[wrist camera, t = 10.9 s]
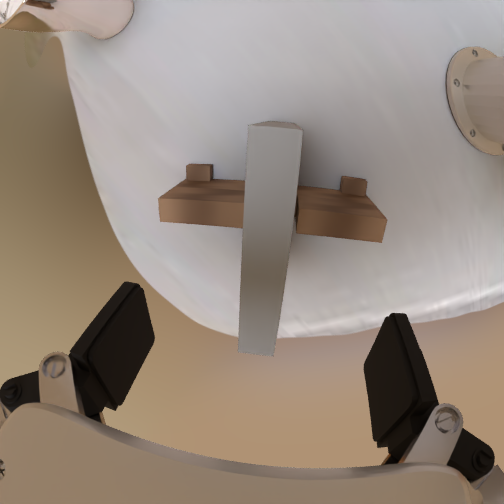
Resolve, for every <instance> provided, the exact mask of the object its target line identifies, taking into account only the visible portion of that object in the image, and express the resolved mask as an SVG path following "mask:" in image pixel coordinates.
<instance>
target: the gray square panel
mask: <svg viewBox="0 0 504 504" xmlns="http://www.w3.org/2000/svg"><path fill="white" fill-rule="evenodd" d="M302 137H303V129H301V128H300V127H299V126H297V125H296V124H295V123H286V122H275V121H267V122H261V123H257V124H252V125H248V139H247V157H246V176H245V196H244V217H243V239H242V261H241V285H240V311H239V339H238V352H241V353H249V354H256V355H265V356H274V350H275V344H276V338H277V332H278V326H279V320H280V313H281V307H282V301H283V294H284V287H285V280H286V273H287V266H288V259H289V252H290V244H291V237H292V229H293V221H294V213H295V204H296V196H297V187H298V178H299V168H300V158H301V148H302Z"/></svg>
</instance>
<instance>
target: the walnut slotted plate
mask: <svg viewBox="0 0 504 504" xmlns="http://www.w3.org/2000/svg"><path fill="white" fill-rule="evenodd" d="M366 188H367V181H366V180H365V179H360V178H354V177H347V176H342V177H341V185H340V190H333V189H325V188H317V187H308V186H299V185H298V187H297V196H296V204H295V213H294V217H295V219H296V233H298V234H308V235H318V236H327V237H336V238H345V239H354V240H362V241H371V242H379V243H382V239H383V235H384V231H385V227H386V223H387V219H386V217H385V216H384V215H383V214H382V213H381V211H380V210H379V209H378V208H377V207H376V206H375V205H374V203H373V202H372V201H371V200H370V199H369V198H368V197H367V195H366V194H365V193H366ZM244 196H245V181H239V180H222V179H213V164H189V165H187V166H186V179H185V180H184V181H182V182H181V183H179V184H178V185H176V186H175V187H173V188H172V189H171V190H169V191H168V192H166V193H165V194H164V195H162V196H161V197H159V198H158V203H159V215H160V222H173V223H186V224H199V225H212V226H223V227H235V228H243V217H244Z"/></svg>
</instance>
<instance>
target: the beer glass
mask: <svg viewBox="0 0 504 504" xmlns="http://www.w3.org/2000/svg"><path fill="white" fill-rule="evenodd" d="M133 9H134V5H133V2H132V0H0V28H5V29H11V30H18V31H26V32H39V33H44V32H64V31H81V32H85V33H87V34H89V35H91V36H92V37H94V38H97V39H108V38H111V37H113V36H115V35H116V34H118V33H119V32H120V31H121V30H122V29H123V28H124V27H125V26H126V25H127V24H128V22H129V21H130V19H131V17H132V14H133Z"/></svg>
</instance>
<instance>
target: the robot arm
mask: <svg viewBox="0 0 504 504" xmlns="http://www.w3.org/2000/svg"><path fill="white" fill-rule="evenodd" d="M447 95H448V99H449V104H450V107H451V110H452V113H453V116H454V118H455V121H456V123H457V125H458V127H459V128H460V130H461V132H462V133H463V135H464V136H465V137H466V138H467V140H468V141H469V142H470V143H471V144H472V145H473V146H475V147H476V148H477V149H479V150H481V151H482V152H485V153H488V154H491V155H503V154H504V57H497V56H496V55H495V54H493V53H492V52H490V51H488V50H486V49H484V48H481V47H468V48H464V49H462V50H460V51H458V52H457V53H456V54H455V55H454V56H453V58H452V60H451V62H450V64H449V67H448V72H447ZM154 339H155V336H154V332H153V327H152V324H151V320H150V316H149V312H148V307H147V303H146V298H145V294H144V290H143V288H141V287H140V285H139V284H137V283H132V282H124V283H123V284H122V285H121V287H120V288H119V289H118V290H117V291H116V292H115V294H114V295H113V296H112V297H111V298H110V300H109V301H108V302H107V303H106V305H105V306H104V307H103V308H102V310H101V311H100V312H99V313H98V315H97V316H96V317H95V318H94V320H93V321H92V322H91V324H90V325H89V326H88V327H87V329H86V330H85V331H84V333H83V334H82V335H81V337H80V338H79V340H78V341H77V342H76V343H75V345H74V346H73V347H72V349H71V350H70V352H71V353H70V354H69V355H67V354H65V353H63V352H53V353H50V354H48V355H47V356H46V357H44V358H43V360H42V361H41V363H40V365H39V370H38V371H35V372H32V373H28V374H25V375H22V376H18V377H15V378H12V379H9V380H7V381H6V382H5V383H4V384H3V385H2V387H1V389H0V504H504V473H503V472H502V470H501V469H500V468H499V466H498V465H496V466H494V459H495V456H494V452H493V450H492V448H491V447H490V446H489V445H487V444H485V443H484V442H483V441H481V440H480V439H478V438H477V437H475V436H474V435H472V434H471V433H469V432H468V431H466V430H465V429H464V428H462V427H463V417H462V415H461V412H460V411H459V410H458V409H457V408H456V407H455V406H453V405H451V404H445V403H444V404H440V405H439V403H438V400H437V396H436V392H435V389H434V386H433V383H432V380H431V377H430V374H429V371H428V368H427V365H426V362H425V359H424V357H423V354H422V351H421V349H420V348H419V345H418V343H417V340H416V337H415V335H414V333H413V330H412V327H411V325H410V322H409V320H408V317H407V315H406V314H404V313H391V314H390V315H389V317H388V316H387V317H386V318H385V319H384V322H383V324H382V326H381V329H380V331H379V333H378V335H377V338H376V340H375V342H374V344H373V346H372V348H371V350H370V352H369V355H368V356H367V359H366V361H365V363H364V374H365V380H366V387H367V394H368V400H369V408H370V416H371V425H372V434H373V439H374V441H377V447H378V448H381V447H388V453H389V455H388V456H387V457H386V458H385V460H384V461H383V463H382V464H381V465H379V466H368V467H352V468H319V469H318V468H289V467H274V466H265V465H255V464H247V463H240V462H234V461H228V460H222V459H217V458H212V457H207V456H202V455H198V454H194V453H189V452H186V451H182V450H177V449H174V448H170V447H166V446H163V445H160V444H157V443H154V442H150V441H148V440H145V439H141V438H139V437H136V436H133V435H130V434H128V433H125V432H122V431H120V430H117V429H114V428H112V427H109V426H107V425H106V423H105V420H104V417H103V413H102V411H103V409H104V407H107V408H110V409H112V410H115V411H116V409H117V407H118V405H119V406H120V405H122V404H123V402H124V400H125V398H126V396H127V394H128V392H129V390H130V388H131V386H132V384H133V382H134V380H135V378H136V376H137V374H138V372H139V370H140V368H141V366H142V364H143V363H144V361H145V359H146V357H147V355H148V353H149V351H150V349H151V347H152V346H153V343H154Z"/></svg>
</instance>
